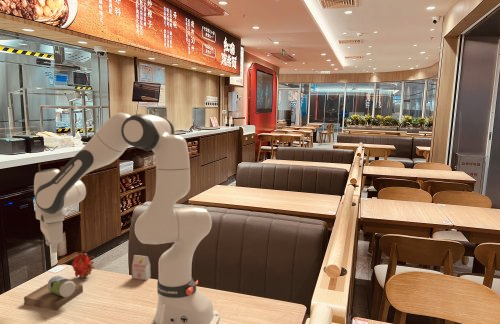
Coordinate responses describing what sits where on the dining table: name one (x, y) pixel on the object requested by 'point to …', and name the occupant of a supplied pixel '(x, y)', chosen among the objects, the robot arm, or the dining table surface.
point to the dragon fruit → (82, 264)
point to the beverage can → (61, 286)
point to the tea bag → (140, 268)
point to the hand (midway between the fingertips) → (51, 248)
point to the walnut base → (50, 298)
